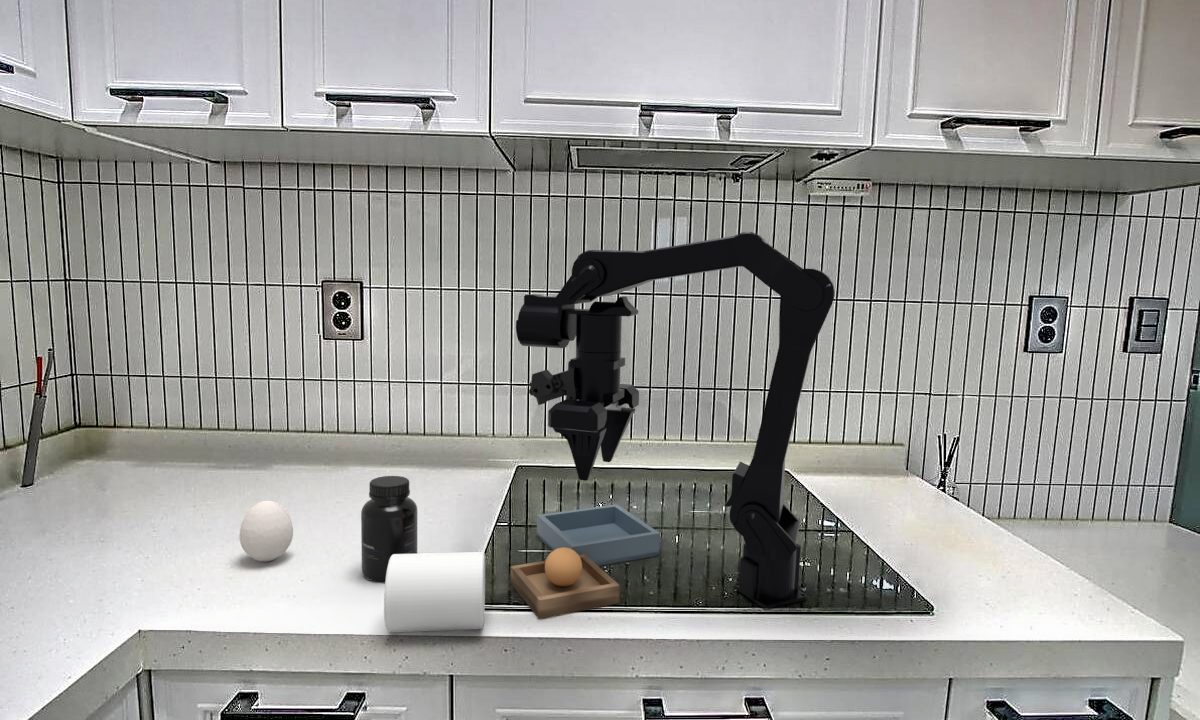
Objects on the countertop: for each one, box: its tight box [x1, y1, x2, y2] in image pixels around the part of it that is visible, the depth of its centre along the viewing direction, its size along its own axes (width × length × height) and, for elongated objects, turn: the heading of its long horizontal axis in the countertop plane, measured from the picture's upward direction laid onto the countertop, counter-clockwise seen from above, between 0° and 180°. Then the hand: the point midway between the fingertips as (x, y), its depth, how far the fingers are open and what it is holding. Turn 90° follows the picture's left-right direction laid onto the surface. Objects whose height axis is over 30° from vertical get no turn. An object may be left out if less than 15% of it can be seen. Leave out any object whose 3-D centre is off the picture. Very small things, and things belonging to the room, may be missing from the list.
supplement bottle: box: [360, 475, 418, 583], centre depth 91 cm, size 7×7×12 cm
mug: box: [383, 551, 486, 633], centre depth 80 cm, size 12×10×8 cm
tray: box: [510, 554, 621, 620], centre depth 87 cm, size 10×10×2 cm
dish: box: [536, 503, 661, 567], centre depth 102 cm, size 13×13×3 cm
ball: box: [545, 547, 582, 586], centre depth 87 cm, size 4×4×4 cm
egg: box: [239, 500, 294, 562], centre depth 94 cm, size 6×6×8 cm
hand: (595, 470), depth 93 cm, fingers open, 9 cm apart
